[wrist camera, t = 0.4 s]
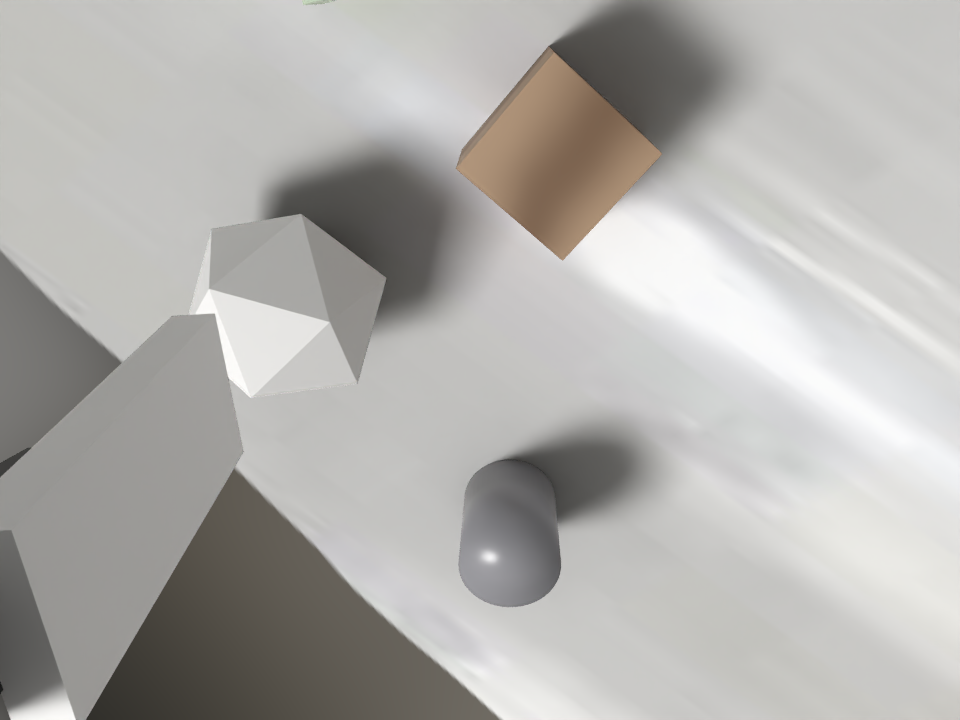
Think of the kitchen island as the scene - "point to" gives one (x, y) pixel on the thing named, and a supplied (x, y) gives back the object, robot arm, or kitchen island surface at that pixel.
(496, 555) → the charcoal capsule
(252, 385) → the die
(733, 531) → the kitchen island surface
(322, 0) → the sage block
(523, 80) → the walnut block
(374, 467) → the kitchen island surface
